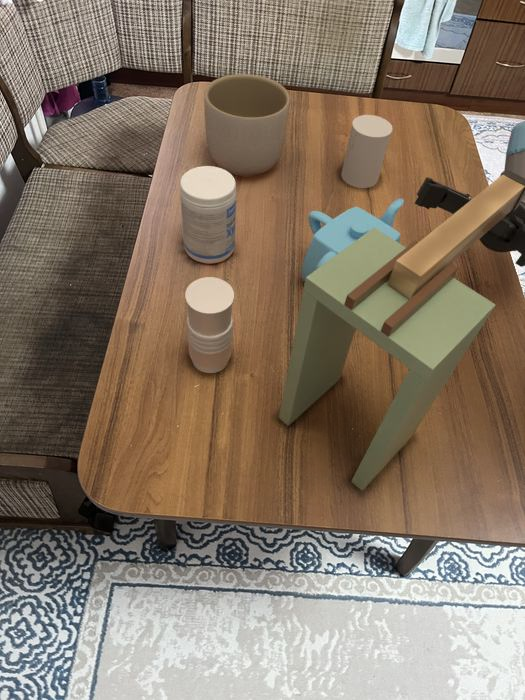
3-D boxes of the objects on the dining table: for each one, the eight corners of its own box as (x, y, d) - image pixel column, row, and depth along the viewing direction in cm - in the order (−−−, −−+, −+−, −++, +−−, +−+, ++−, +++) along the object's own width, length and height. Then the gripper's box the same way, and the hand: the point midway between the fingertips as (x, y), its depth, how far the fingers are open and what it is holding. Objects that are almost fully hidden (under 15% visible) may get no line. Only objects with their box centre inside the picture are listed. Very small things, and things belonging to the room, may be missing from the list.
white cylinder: (350, 161, 120) (362, 110, 111) (383, 174, 118) (398, 123, 109) (335, 179, 116) (345, 127, 106) (368, 192, 114) (383, 142, 104)
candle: (241, 359, 86) (245, 296, 74) (207, 383, 82) (206, 322, 70) (213, 333, 88) (213, 269, 76) (180, 355, 85) (174, 292, 73)
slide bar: (517, 208, 65) (532, 181, 62) (411, 302, 55) (423, 276, 52) (493, 194, 67) (506, 168, 64) (385, 284, 56) (394, 258, 53)
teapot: (391, 322, 93) (414, 267, 82) (297, 311, 92) (309, 254, 82) (385, 250, 103) (405, 193, 93) (301, 241, 103) (312, 182, 93)
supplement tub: (238, 263, 98) (241, 197, 87) (187, 268, 97) (183, 202, 85) (229, 228, 104) (231, 162, 92) (180, 232, 102) (176, 166, 90)
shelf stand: (411, 437, 79) (502, 294, 54) (362, 491, 74) (438, 360, 48) (329, 372, 85) (377, 216, 60) (278, 417, 80) (307, 266, 54)
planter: (290, 149, 121) (298, 83, 109) (272, 193, 111) (279, 126, 99) (218, 134, 123) (218, 67, 111) (194, 176, 113) (192, 108, 101)
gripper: (570, 294, 75) (550, 311, 58) (424, 207, 84) (369, 200, 67) (608, 247, 71) (599, 251, 54) (451, 162, 81) (401, 142, 64)
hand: (472, 223), depth 61 cm, fingers open, 13 cm apart
